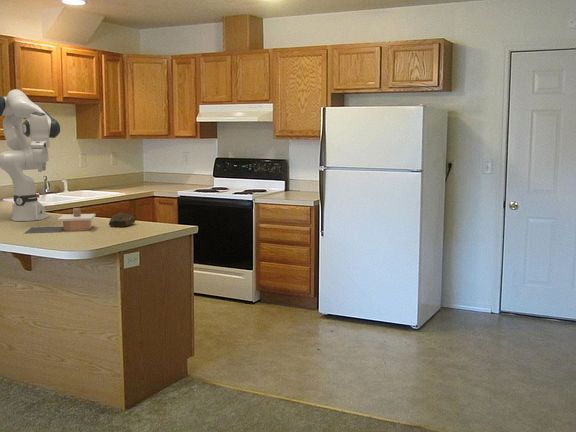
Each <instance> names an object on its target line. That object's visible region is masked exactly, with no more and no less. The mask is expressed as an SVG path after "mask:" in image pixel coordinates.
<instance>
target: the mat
mask: <svg viewBox="0 0 576 432" xmlns="http://www.w3.org/2000/svg"><path fill="white" fill-rule="evenodd" d="M63 231H64V228H63V225H62V226H39V227H37V226H36V227H33V226H32V227H30V228H29V229H28V230H26V231H25V232H24V233H22V234H23V235H24V234H26V235H27V234H47V233H49V234H51V233H61V232H63Z"/></svg>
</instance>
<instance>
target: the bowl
mask: <svg viewBox="0 0 576 432" xmlns="http://www.w3.org/2000/svg"><path fill="white" fill-rule="evenodd" d="M92 221H93V219H92V220H77V221H62V222H63V223H62V226H63V228H64V229H63V231H66V232H67V231H68V232H81V231H82V232H83V231H90V230H91V229H93V224H92Z"/></svg>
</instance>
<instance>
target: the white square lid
mask: <svg viewBox="0 0 576 432" xmlns="http://www.w3.org/2000/svg"><path fill="white" fill-rule="evenodd" d="M72 212H73V213H72V214H70V213H69V214H62V215H61V216H60V217H58V218H57V222H63V221H77V220H92V221H93V219H94V218H95V217H96V215H97V214H96V213H81V207H73V208H72Z"/></svg>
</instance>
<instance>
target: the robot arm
mask: <svg viewBox="0 0 576 432" xmlns="http://www.w3.org/2000/svg"><path fill="white" fill-rule="evenodd" d="M2 116H3V117H4V118H3V120H2V130H3V135H4V138H5V142H6V144H7V147H8V148H9V149H11V150H6V151H1V152H0V169H2V170H3V171H4V172H6V173H7V174H8V176H9V177H10V179H11V181H12V186H13V195H12V198H13V202H14V203H13V204H12V209H11V213H12V215H11V217H10V220H11V221H14V222H31V221H42V220H45V219H47V218H49V217H50V216H51V215H50V214H47V213H46V208H45V206H44V205H43V204H42V203H40V201H38V200H39V199H38V198H40V194H39V193H38V194H36V185H35V180H34V179H33V177H30V176H27V175H25V173H24V171H27V170H37V171H38V172H39V173H42V172H45V171H46V170H47V162H49V161H50V160H49V151H48V149H49V148H51V146H50V138H51V139H55V138H56V137H57V136H59V134H60V133H61V125H60V123H59V122H58V120H57V119H55V118H53V117H52V116H51V115H50V114H49V113H48V112H47V111H46V110H45V109H44V108H43V107H42V106H40V105H37V104H36V103H35V102H33V101H32V100H31V99H30V98H29V97H28V96H27V95H26V94H25V93H24V92H23V91H22V90H21V89H18V88H16V89H15V88H14V89H11V90H10V91H9V92H8V93H7V96H0V117H2ZM23 120H24V121H23ZM22 121H23V122H22ZM28 138H30V141H29V139H28Z"/></svg>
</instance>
